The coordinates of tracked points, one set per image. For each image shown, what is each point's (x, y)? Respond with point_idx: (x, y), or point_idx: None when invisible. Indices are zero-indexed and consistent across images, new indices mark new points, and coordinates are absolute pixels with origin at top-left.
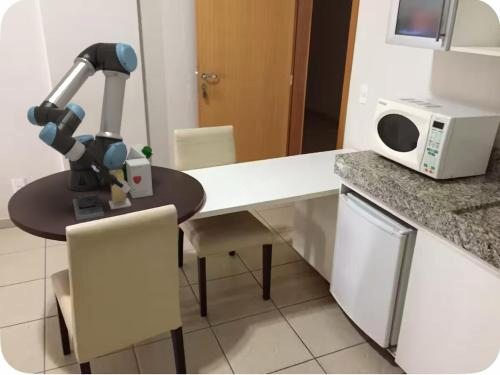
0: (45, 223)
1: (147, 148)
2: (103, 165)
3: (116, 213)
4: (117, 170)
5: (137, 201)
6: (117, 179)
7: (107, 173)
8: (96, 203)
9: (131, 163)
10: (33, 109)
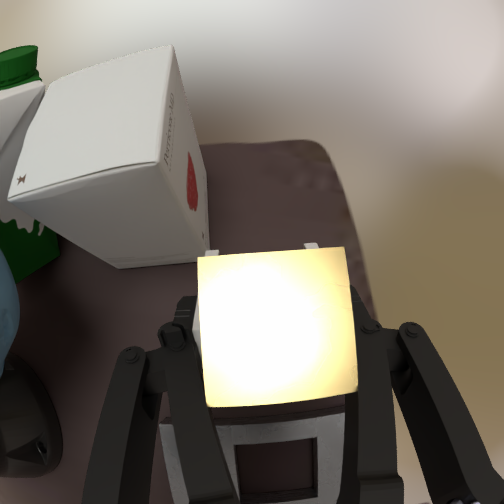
0: None
1: (7, 55)
2: (126, 460)
3: None
4: (235, 306)
5: (254, 243)
6: (364, 322)
7: (462, 410)
8: (273, 439)
9: (102, 147)
10: None
